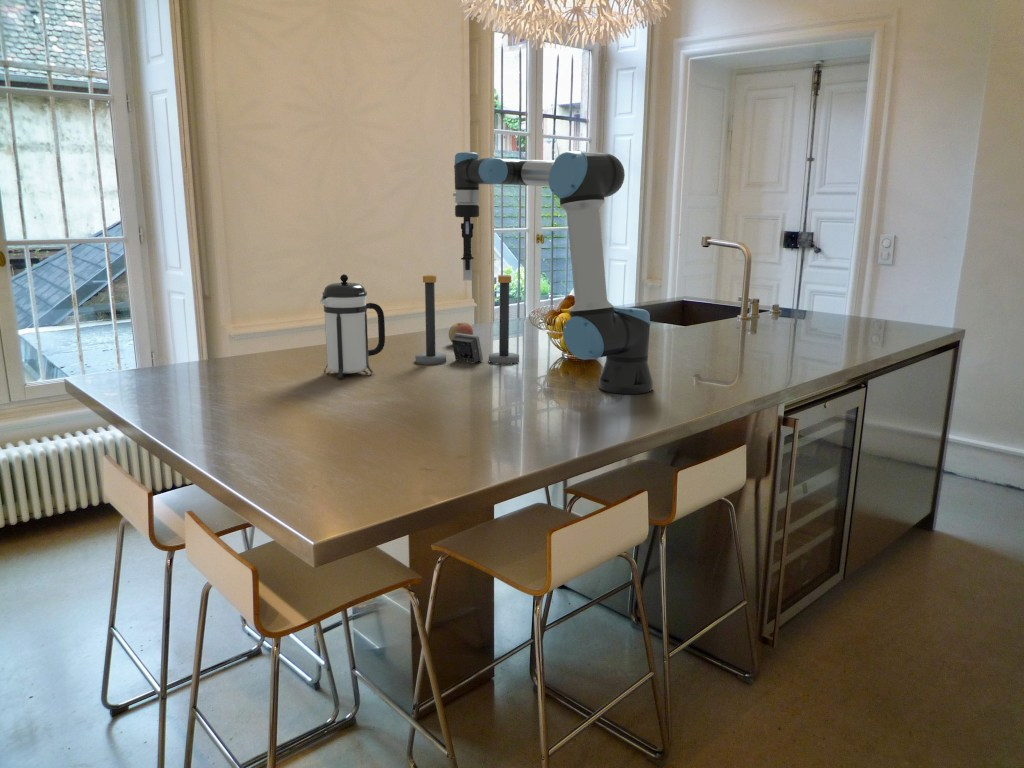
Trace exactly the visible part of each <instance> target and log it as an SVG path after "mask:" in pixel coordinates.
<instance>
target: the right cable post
mask: <svg viewBox="0 0 1024 768" xmlns="http://www.w3.org/2000/svg"><path fill="white" fill-rule="evenodd" d="M497 282H498V284H499V345H498V346H499V352H492V353H489V354H488V362H489V361H490V362H492V363H498V364H497V365H499V364H510V365H512V364H511V363H516V364H518V363H517V362H520V355H519V354H518V353H514V352H509V350H510V348H509V347H510V346H509V345H510V343H509V341H510V335H509V334H510V284H511V283H512V276H511V274H509V275H507V274H505V275H504V274H500V275H499V274H498V275H497ZM490 362H489V363H490ZM492 363H491V364H492Z"/></svg>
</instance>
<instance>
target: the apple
mask: <svg viewBox="0 0 1024 768" xmlns="http://www.w3.org/2000/svg"><path fill="white" fill-rule="evenodd" d="M456 333H461V334H469V335H474V330H473V327H472V326H471V325H470V324H469V323H468V322H456V323H454V324H452V325H451V326H450V327H449V330H448V338H449V341H450V342H451V343H452V339H454V337H455V334H456Z"/></svg>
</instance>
